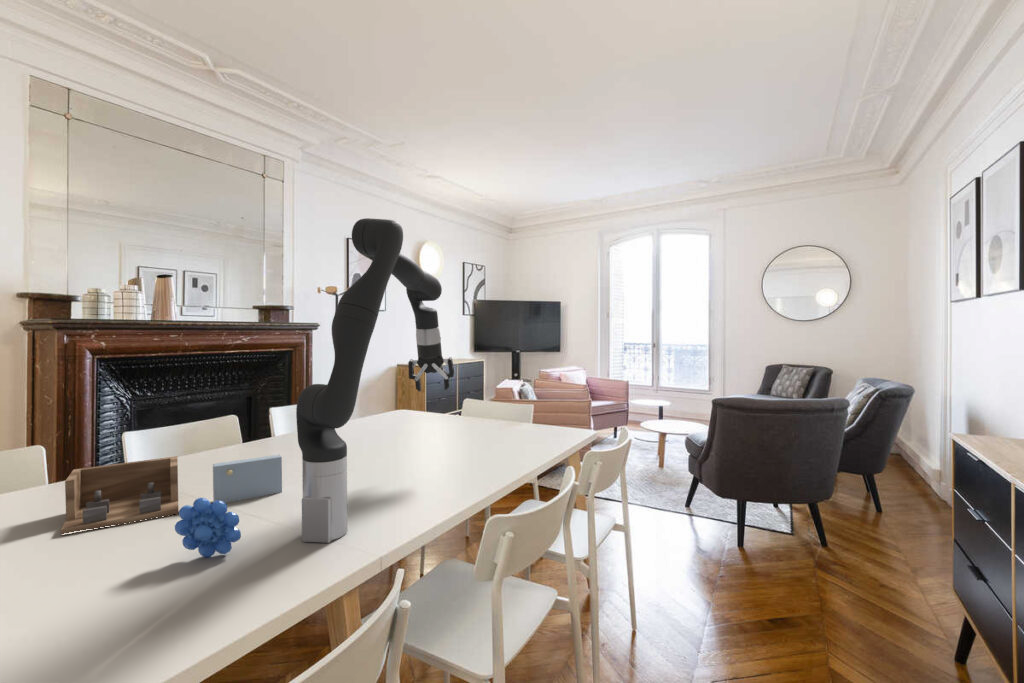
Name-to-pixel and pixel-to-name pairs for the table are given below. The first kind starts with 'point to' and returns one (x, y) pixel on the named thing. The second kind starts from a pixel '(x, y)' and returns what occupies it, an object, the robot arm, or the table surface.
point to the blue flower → (208, 527)
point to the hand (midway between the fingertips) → (433, 390)
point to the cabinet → (120, 493)
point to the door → (247, 478)
